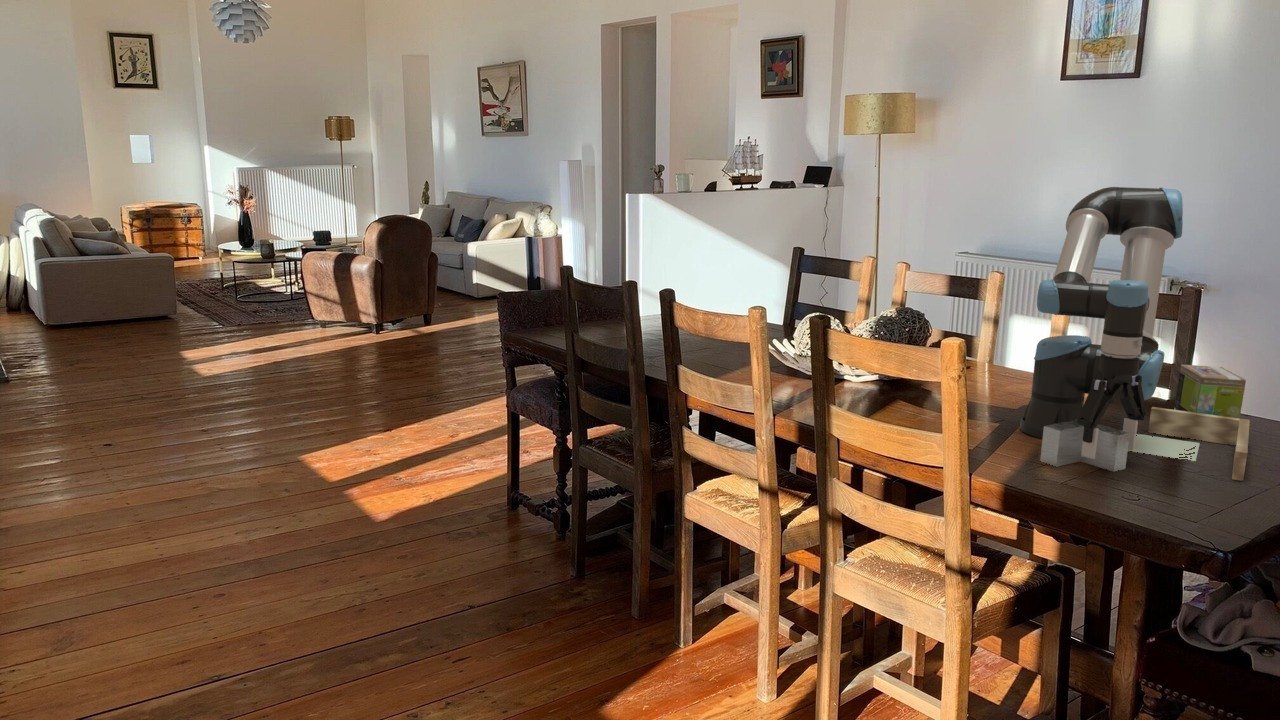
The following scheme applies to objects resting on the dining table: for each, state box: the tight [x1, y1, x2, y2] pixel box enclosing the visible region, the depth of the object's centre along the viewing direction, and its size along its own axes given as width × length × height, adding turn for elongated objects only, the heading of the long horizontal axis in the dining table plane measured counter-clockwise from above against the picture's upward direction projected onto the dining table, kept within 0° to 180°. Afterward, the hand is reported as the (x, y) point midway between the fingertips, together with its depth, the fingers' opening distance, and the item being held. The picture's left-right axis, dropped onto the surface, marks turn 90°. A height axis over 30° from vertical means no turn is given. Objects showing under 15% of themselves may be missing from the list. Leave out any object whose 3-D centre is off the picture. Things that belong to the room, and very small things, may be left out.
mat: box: [1128, 433, 1200, 463], centre depth 222 cm, size 16×16×1 cm
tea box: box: [1173, 364, 1247, 419], centre depth 234 cm, size 15×10×15 cm, turn 168°
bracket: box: [1039, 419, 1130, 472], centre depth 207 cm, size 12×12×8 cm
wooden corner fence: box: [1147, 406, 1251, 482], centre depth 216 cm, size 20×30×6 cm, turn 148°
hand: (1108, 452), depth 206 cm, fingers open, 13 cm apart
